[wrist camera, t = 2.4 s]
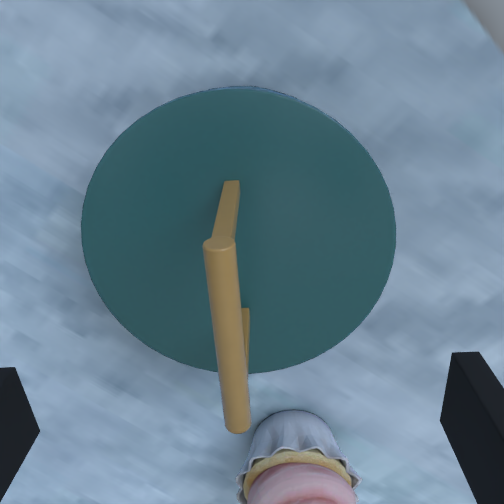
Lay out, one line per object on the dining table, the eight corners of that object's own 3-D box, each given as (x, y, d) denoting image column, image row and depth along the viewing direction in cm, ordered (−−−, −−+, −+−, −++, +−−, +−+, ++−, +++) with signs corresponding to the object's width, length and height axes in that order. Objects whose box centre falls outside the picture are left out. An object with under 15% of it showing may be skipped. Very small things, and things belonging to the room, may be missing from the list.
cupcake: (358, 463, 38) (390, 597, 29) (253, 480, 39) (252, 614, 30) (339, 383, 34) (369, 510, 25) (223, 405, 35) (210, 534, 26)
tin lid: (121, 365, 27) (65, 502, 19) (53, 97, 20) (-80, 140, 12) (379, 355, 26) (430, 492, 18) (403, 74, 19) (502, 103, 11)
